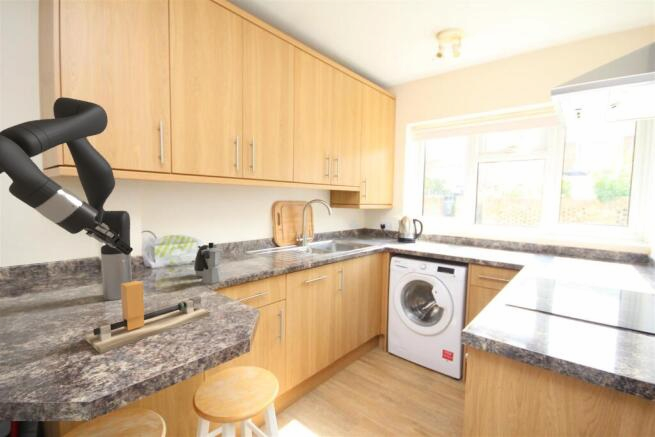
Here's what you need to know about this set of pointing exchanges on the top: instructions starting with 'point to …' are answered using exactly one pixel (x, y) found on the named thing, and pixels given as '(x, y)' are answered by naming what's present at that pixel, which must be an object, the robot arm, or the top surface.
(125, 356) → the top surface
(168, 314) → the linear slide rail
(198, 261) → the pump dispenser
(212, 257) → the coffee maker
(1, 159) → the robot arm
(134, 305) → the upright wooden block
